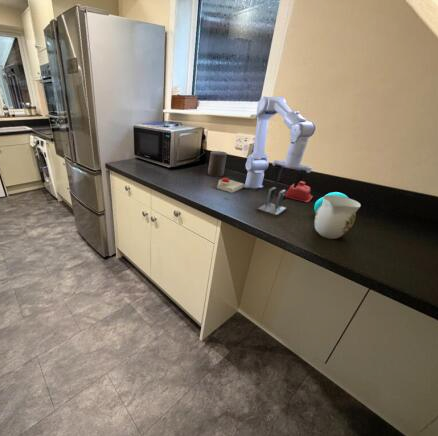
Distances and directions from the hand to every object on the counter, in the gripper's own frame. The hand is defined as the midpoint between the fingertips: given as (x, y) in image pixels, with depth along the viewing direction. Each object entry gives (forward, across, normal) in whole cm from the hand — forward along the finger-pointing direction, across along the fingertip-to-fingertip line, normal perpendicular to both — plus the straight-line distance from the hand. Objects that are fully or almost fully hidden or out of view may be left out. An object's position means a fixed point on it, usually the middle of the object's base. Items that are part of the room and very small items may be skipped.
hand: (285, 184), depth 102 cm
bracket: (+10, 0, -8) cm, 13 cm away
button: (+7, -29, 0) cm, 30 cm away
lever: (+6, 0, -5) cm, 7 cm away
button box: (+10, -27, +3) cm, 29 cm away
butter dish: (+10, +2, +16) cm, 19 cm away
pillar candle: (+10, -46, +17) cm, 50 cm away
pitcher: (+10, +22, -11) cm, 27 cm away
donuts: (+10, +18, +4) cm, 21 cm away
